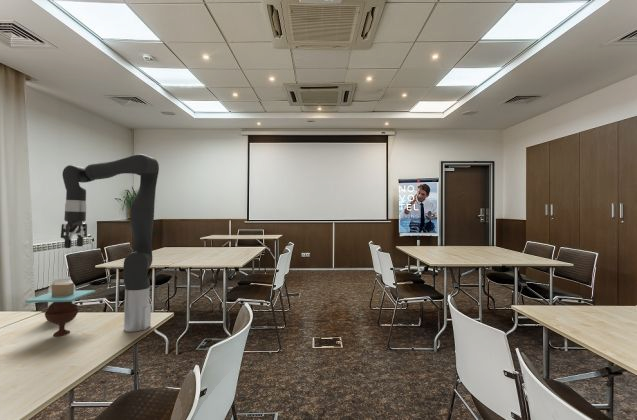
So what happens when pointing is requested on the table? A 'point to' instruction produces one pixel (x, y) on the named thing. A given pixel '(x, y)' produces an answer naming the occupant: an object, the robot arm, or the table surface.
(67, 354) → the table surface
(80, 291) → the teal square mat
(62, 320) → the ice cream bowl
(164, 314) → the table surface
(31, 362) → the table surface
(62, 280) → the milk carton
